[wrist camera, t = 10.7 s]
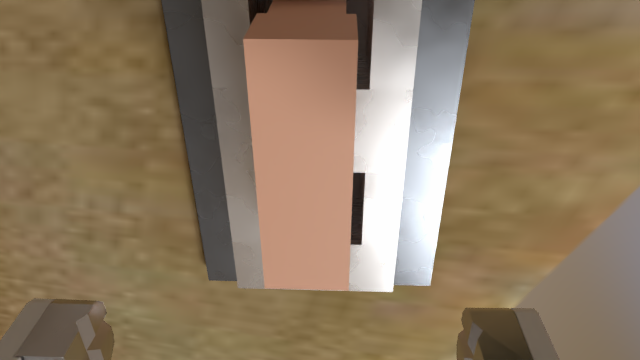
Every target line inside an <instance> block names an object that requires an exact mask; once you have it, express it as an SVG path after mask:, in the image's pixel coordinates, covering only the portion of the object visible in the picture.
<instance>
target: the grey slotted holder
mask: <svg viewBox="0 0 640 360" xmlns="http://www.w3.org/2000/svg"><path fill="white" fill-rule="evenodd" d="M161 1H162V6H163V12H164V18H165V24H166V30H167V36H168V42H169V48H170V54H171V59H172V65H173V71H174V77H175V83H176V89H177V95H178V101H179V107H180V113H181V118H182V124H183V130H184V136H185V142H186V148H187V154H188V160H189V166H190V172H191V177H192V183H193V189H194V195H195V201H196V207H197V213H198V219H199V225H200V231H201V236H202V242H203V248H204V254H205V260H206V266H207V272H208V278H209V280H219V281H237V284H238V288H259V289H272V288H265V286H264V275H263V263H262V251H261V240H260V228H259V217H258V205H257V194H256V182H255V171H254V159H253V147H252V136H251V124H250V113H249V101H248V90H247V78H246V67H245V55H244V43H243V38H244V36H245V34H246V33H247V31H248V29H249V27H250V25H251V23H252V21H253V20H254V18H255V16H256V14H257V13H267V12H268V10H269V8H270V6H271V3H272V1H273V0H161ZM474 1H475V0H346V14H356V16H357V29H358V61H357V88H356V114H355V140H354V166H353V192H352V218H351V244H350V270H349V291H377V292H393V285H419V286H430V283H431V277H432V270H433V264H434V257H435V251H436V245H437V238H438V232H439V225H440V219H441V212H442V206H443V200H444V193H445V187H446V180H447V174H448V168H449V161H450V155H451V148H452V142H453V136H454V129H455V123H456V116H457V110H458V103H459V97H460V91H461V84H462V78H463V71H464V65H465V59H466V52H467V46H468V39H469V33H470V27H471V20H472V14H473V7H474ZM298 290H310V289H298ZM337 291H347V290H337Z"/></svg>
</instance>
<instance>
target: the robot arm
mask: <svg viewBox="0 0 640 360" xmlns="http://www.w3.org/2000/svg"><path fill="white" fill-rule="evenodd" d="M106 313H107V312H106V309H105V306H104V304H103V302H100V301H90V300H67V299H36V298H34V299H33V300H31V301H29V302H28V303H27V304H26V305H25V307H24V308H23V310H22V311H21V312H20V314H19V315H18V317H17V318H16V319H15V321H14V322H13V324H12V325H11V326H10V328H9V329H8V330H7V332H6V333H5V335H4V336H3V337H2V339H1V340H0V360H111V357H112V353H113V347H114V334H113V331H112V327H111V326H110V325H109V324H107V323H106V322H105V321H104V320H103V319H104V317H105V315H106ZM461 321H462V325H463V328H464V330H463V331H462V332H460V333H459V334H458V340H457V360H560V359H559V357H558V355H557V353H556V350H555V348H554V346H553V344H552V342H551V339H550V337H549V335H548V333H547V331H546V329H545V326H544V324H543V322H542V320H541V318H540V316H539V313H538V312H537V311H536V310H535V309H526V308H511V309H509V308H465V310H464V311H463V315H462V319H461Z"/></svg>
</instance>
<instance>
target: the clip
mask: <svg viewBox="0 0 640 360" xmlns="http://www.w3.org/2000/svg"><path fill="white" fill-rule="evenodd" d="M243 43H244V55H245V67H246V78H247V90H248V101H249V113H250V124H251V136H252V147H253V159H254V171H255V182H256V194H257V205H258V217H259V228H260V240H261V251H262V263H263V275H264V286H265V288H272V289H310V290H347V291H349V270H350V244H351V218H352V192H353V166H354V140H355V114H356V88H357V61H358V29H357V16H356V14H346V0H273V1H272V3H271V6H270V8H269V10H268V12H267V13H257V14H256V16H255V18H254V20H253V21H252V23H251V25H250V27H249V29H248V31H247V33H246V34H245V36H244V38H243Z"/></svg>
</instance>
